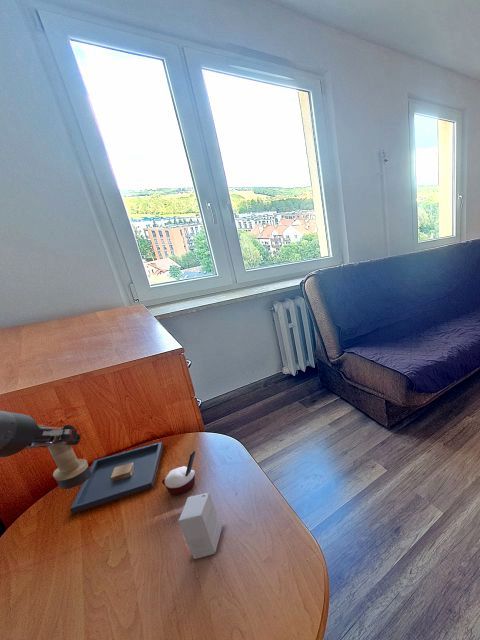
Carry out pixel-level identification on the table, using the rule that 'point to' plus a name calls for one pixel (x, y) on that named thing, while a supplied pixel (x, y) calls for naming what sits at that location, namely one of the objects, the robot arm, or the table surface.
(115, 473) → the cork chip
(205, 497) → the cosmetic box
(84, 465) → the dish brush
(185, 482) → the cocoa
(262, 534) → the table surface
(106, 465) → the tray
